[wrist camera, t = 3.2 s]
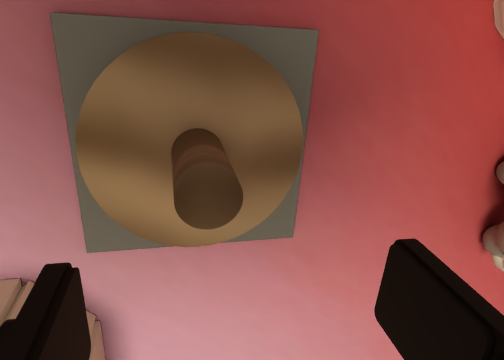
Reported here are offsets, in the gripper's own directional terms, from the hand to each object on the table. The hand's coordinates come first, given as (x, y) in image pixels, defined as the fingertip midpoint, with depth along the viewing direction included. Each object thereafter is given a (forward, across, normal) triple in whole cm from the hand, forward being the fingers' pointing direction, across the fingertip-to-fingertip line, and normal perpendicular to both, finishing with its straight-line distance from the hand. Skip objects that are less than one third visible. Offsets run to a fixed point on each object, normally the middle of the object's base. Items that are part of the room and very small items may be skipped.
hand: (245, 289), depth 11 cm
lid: (+12, +1, 0) cm, 13 cm away
